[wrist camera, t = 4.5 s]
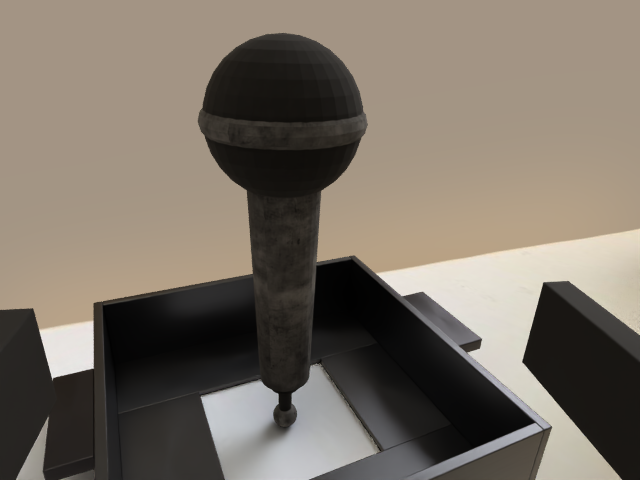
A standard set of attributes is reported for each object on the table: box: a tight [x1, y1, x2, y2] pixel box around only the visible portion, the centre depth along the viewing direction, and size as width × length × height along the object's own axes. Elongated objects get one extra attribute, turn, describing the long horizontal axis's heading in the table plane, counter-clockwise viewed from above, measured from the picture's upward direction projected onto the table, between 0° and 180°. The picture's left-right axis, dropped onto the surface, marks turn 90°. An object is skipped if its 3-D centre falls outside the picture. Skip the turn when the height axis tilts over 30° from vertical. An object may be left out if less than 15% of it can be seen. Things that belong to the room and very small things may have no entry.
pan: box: [43, 256, 552, 480], centre depth 25 cm, size 22×18×5 cm
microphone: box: [198, 33, 368, 427], centre depth 21 cm, size 7×7×20 cm
